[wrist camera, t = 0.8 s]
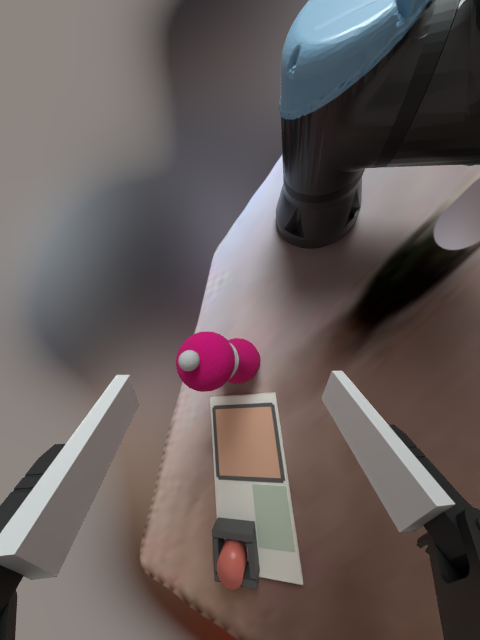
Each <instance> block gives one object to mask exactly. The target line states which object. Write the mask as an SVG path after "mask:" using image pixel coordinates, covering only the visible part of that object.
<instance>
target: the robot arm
mask: <svg viewBox="0 0 480 640" xmlns="http://www.w3.org/2000/svg"><path fill="white" fill-rule="evenodd" d="M279 109H280V115H281V129H282V151H283V176H284V183H283V187H282V190H281V194H280V197H279V200H278V204H277V208H276V221H277V228H278V230H279V232H280V234H281V235H282V237H283V238H284V239H285V240H287V241H288V242H290V243H291V244H293V245H296V246H299V247H305V248H316V247H322V246H326V245H329V244H331V243H333V242H335V241H337V240H339V239H340V238H342V237H343V236H344V235H345V234H346V233H347V232H348V231H349V230H350V229H351V227H352V226H353V224H354V222H355V220H356V218H357V216H358V214H359V211H360V207H361V195H362V175H363V172H364V170H365V168H377V167H406V166H434V165H467V166H473V165H480V0H309V1H308V2H307V4H306V5H305V6H304V7H303V9H302V10H301V11H300V13H299V14H298V16H297V18H296V19H295V21H294V23H293V25H292V27H291V28H290V31H289V33H288V35H287V38H286V41H285V44H284V47H283V52H282V58H281V98H280V102H279ZM321 399H322V401H323V403H324V404H325V406H326V408H327V409H328V411H329V413H330V415H331V416H332V418H333V420H334V421H335V423H336V425H337V426H338V428H339V430H340V432H341V433H342V435H343V437H344V438H345V440H346V442H347V444H348V445H349V447H350V449H351V450H352V452H353V454H354V456H355V457H356V459H357V461H358V462H359V464H360V466H361V468H362V469H363V471H364V473H365V474H366V476H367V478H368V480H369V481H370V483H371V485H372V486H373V488H374V490H375V492H376V493H377V495H378V497H379V498H380V500H381V502H382V504H383V505H384V507H385V509H386V510H387V512H388V514H389V515H390V517H391V519H392V521H393V522H394V524H395V526H396V527H397V529H398V531H399V533H401V532H409V531H416V530H417V529H419V528H420V527H422V526H423V525H424V527H425V528H426V530H427V531H428V532H427V533H426V534H424V535H423V536H421V537H420V538H419V539H418V540H417V546H418V547H420V548H422V547H423V546H425V545H427V544H428V548H427V549H426V552H427V553H428V554H429V555H430V561H431V567H432V572H433V578H434V584H435V590H436V596H437V601H438V607H439V613H440V619H441V624H442V630H443V636H444V640H480V510H478V509H476V508H473V507H472V506H471V505H470V504H469V503H468V502H467V501H466V500H465V499H464V498H463V497H462V496H461V495H460V494H459V493H458V492H457V491H456V490H455V489H454V487H453V486H452V485H451V484H450V483H449V482H448V481H447V480H446V478H445V477H444V476H443V475H442V474H441V473H440V472H439V471H438V470H437V468H436V467H435V466H434V465H433V464H432V463H431V462H430V461H429V460H428V458H426V457H425V455H424V454H423V453H422V452H421V451H420V449H418V448H417V447H416V445H415V444H414V443H413V442H412V441H411V439H410V438H409V437H408V436H407V435H406V434H405V433H403V432H402V431H401V430H400V429H398V428H397V427H396V426H395V425H388V424H387V423H386V422H385V420H384V419H383V418H382V417H381V416H380V415H379V413H378V412H377V411H376V410H375V409H374V408H373V406H372V405H371V404H370V403H369V402H368V400H367V399H366V398H365V397H364V396H363V395H362V393H361V392H360V391H359V390H358V389H357V388H356V386H355V385H354V384H353V383H352V382H351V380H350V379H349V378H348V377H347V376H346V375H345V373H344V372H343V371H332V372H331V374H330V377H329V380H328V382H327V385H326V387H325V390H324V392H323V395H322V397H321ZM138 406H139V403H138V400H137V397H136V393H135V390H134V387H133V384H132V380H131V377H130V375H116V377H115V378H114V379H113V380H112V382H111V383H110V385H109V386H108V387H107V389H106V390H105V391H104V393H103V394H102V395H101V397H100V398H99V400H98V401H97V402H96V404H95V405H94V406H93V408H92V409H91V410H90V412H89V413H88V415H87V416H86V418H85V419H84V420H83V421H82V423H81V424H80V425H79V427H78V428H77V430H76V431H75V432H74V434H73V435H72V436H71V438H70V439H69V441H68V442H67V443H66V444H57V445H56V444H55V445H54V446H53V447H51V448H50V449H49V450H48V451H47V452H45V453H44V454H43V455H42V456H41V457H40V458H39V459H38V460H37V461H36V462H35V463H34V465H33V466H32V467H31V469H30V470H29V471H28V472H27V473H26V476H25V477H24V478H22V480H21V481H20V482H19V483H18V485H17V486H16V487H15V488H14V491H13V492H11V493H10V494H9V496H8V497H7V498H6V499H5V501H4V502H3V503H2V504H1V506H0V640H15V629H16V628H15V627H16V609H17V592H16V588H17V586H18V584H19V583H20V581H21V579H22V577H23V576H25V577H27V578H29V579H31V580H33V579H42V578H50V577H57V575H58V573H59V571H60V569H61V567H62V565H63V563H64V561H65V558H66V556H67V554H68V552H69V550H70V548H71V546H72V544H73V542H74V540H75V537H76V535H77V533H78V531H79V529H80V527H81V525H82V523H83V521H84V519H85V517H86V515H87V512H88V510H89V508H90V506H91V504H92V502H93V500H94V498H95V496H96V494H97V492H98V490H99V488H100V485H101V483H102V481H103V479H104V477H105V475H106V473H107V471H108V469H109V467H110V465H111V462H112V460H113V458H114V456H115V454H116V452H117V450H118V448H119V446H120V444H121V442H122V440H123V438H124V435H125V433H126V431H127V429H128V427H129V425H130V423H131V421H132V419H133V417H134V415H135V412H136V410H137V408H138Z"/></svg>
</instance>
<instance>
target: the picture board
mask: <svg viewBox="0 0 480 640" xmlns="http://www.w3.org/2000/svg"><path fill="white" fill-rule="evenodd" d="M210 408H211V425H212V443H213V460H214V478H215V495H216V512H217V520H216V523H215V525H214V527H213V529H212V537H213V557H214V572H215V573H214V576H215V581H217V582H221V581H220V579H219V577H218V574H217V562H218V559H219V556H220V553H221V550H222V548H223V545H224V542H225V540H226V539H231V540H238V541H242V542H243V543H244V545H245V547H246V550H247V562H246V566H245V571H244V576H243V580H242V583H241V585H240V586H242V587H246V588H251V589H256V590H257V587H258V580H259V577H263V578H268V579H273V580H279V581H284V582H289V583H295V584H300V585H303V575H302V568H301V561H300V554H299V548H298V541H297V534H296V527H295V520H294V514H293V507H292V500H291V493H290V486H289V480H288V473H287V466H286V459H285V452H284V446H283V439H282V432H281V425H280V418H279V412H278V405H277V398H276V392H272V393H257V394H243V395H228V396H213V397H210Z"/></svg>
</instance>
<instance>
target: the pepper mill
mask: <svg viewBox="0 0 480 640" xmlns="http://www.w3.org/2000/svg"><path fill="white" fill-rule="evenodd" d="M176 366H177V371H178V374H179V376H180V378H181V380H182V381H183V382H184V383H185V384H186V385H187V386H188V387H189V388H191V389H194V390H196V391H202V392H203V391H212V390H215V389H217V388H220V387H221V386H223V385H224V384H225V383H226V382H227V381H228V382H231V383H243V382H246V381H248V380H250V379H251V378H252V377H253V376H254V375H255V374H256V372H257V370H258V369H259V366H260V355H259V353H258V351H257V349H256V348H255V346H254V345H253V344H252V343H250V342H249V341H247V340H244V339H239V338H235V339H231V340H227V339H226V338H224V337H223V336H221V335H220V334H217V333H214V332H200V333H197V334H194V335H192V336H191V337H189V338H188V339H187V340H186V341H185V342H184V343H183V344H182V346H181V347H180V349H179V351H178V354H177V360H176Z"/></svg>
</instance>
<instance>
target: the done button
mask: <svg viewBox="0 0 480 640" xmlns="http://www.w3.org/2000/svg"><path fill="white" fill-rule="evenodd" d="M246 562H247V550H246V547H245V545H244V543H243V542H242V541H238V540H231V539H226V540H225V542H224V545H223V548H222V550H221V553H220V556H219V559H218V562H217V574H218V577H219V579H220V581H221V583H222V584H223V585H224V586H225V587H226V588H227V589H229V590H236V589H238V588H239V587H240V585H241V583H242V580H243V576H244V571H245V566H246Z"/></svg>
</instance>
